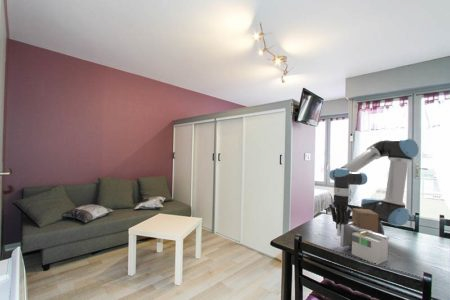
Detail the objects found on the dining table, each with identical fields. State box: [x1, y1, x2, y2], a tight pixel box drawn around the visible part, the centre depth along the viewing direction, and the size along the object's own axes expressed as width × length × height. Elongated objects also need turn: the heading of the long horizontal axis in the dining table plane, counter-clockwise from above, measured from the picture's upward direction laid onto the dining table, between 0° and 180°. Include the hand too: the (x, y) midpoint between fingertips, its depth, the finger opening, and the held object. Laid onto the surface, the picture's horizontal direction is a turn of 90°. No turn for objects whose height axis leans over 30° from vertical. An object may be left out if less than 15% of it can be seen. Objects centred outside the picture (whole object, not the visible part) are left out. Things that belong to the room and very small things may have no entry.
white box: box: [351, 231, 389, 265], centre depth 108 cm, size 10×12×11 cm
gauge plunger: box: [339, 221, 390, 248], centre depth 109 cm, size 13×20×12 cm, turn 30°
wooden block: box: [351, 207, 378, 233], centre depth 122 cm, size 10×10×20 cm
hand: (339, 235), depth 122 cm, fingers closed
